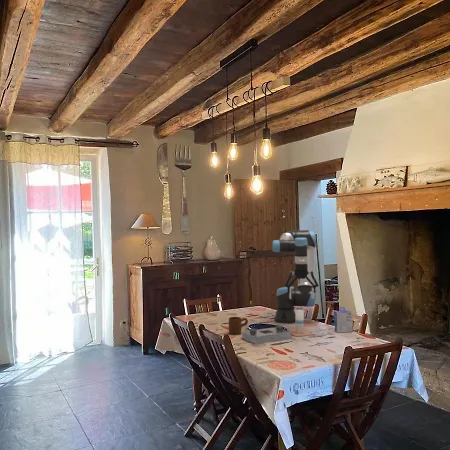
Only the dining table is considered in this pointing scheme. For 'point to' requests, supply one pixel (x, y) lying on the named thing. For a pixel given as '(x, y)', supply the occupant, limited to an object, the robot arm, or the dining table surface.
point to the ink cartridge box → (343, 320)
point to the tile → (301, 334)
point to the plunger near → (253, 331)
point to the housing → (266, 335)
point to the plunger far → (279, 327)
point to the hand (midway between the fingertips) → (301, 298)
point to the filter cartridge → (299, 320)
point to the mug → (236, 325)
